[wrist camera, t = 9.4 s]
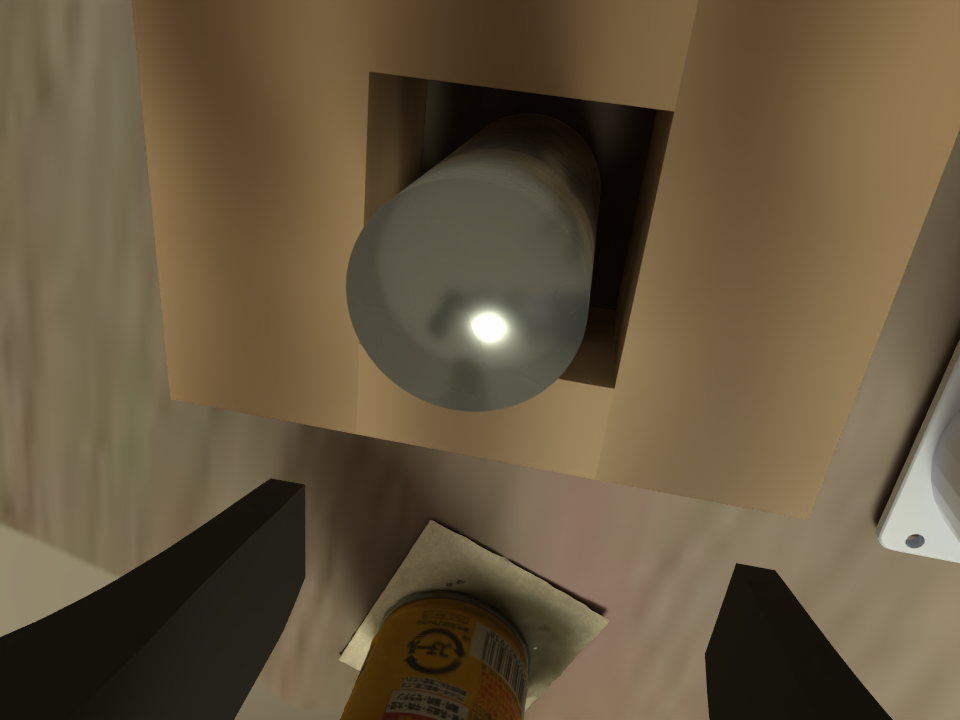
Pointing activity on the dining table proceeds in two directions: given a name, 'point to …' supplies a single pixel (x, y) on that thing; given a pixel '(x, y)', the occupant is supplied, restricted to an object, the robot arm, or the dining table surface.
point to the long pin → (482, 268)
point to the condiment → (462, 637)
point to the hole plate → (654, 238)
